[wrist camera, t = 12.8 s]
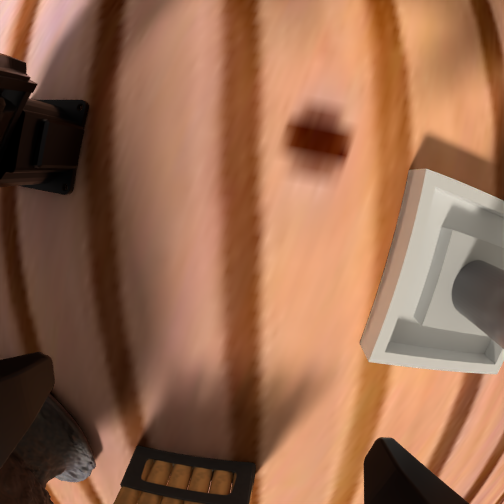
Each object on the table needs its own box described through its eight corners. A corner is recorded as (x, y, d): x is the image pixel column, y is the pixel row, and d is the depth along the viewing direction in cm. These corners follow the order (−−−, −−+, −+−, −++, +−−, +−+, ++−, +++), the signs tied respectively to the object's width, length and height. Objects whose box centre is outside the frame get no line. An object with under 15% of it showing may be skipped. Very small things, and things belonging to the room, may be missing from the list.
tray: (359, 342, 20) (368, 361, 18) (409, 169, 18) (426, 168, 15) (482, 359, 20) (497, 374, 18) (528, 219, 18) (549, 224, 15)
